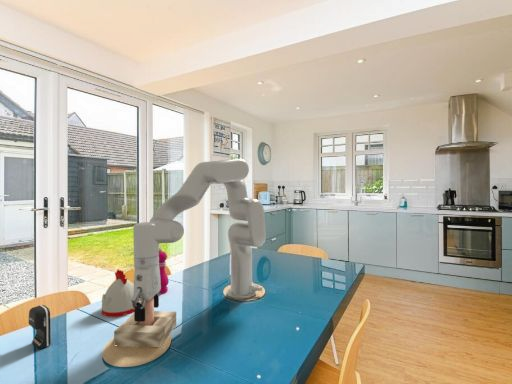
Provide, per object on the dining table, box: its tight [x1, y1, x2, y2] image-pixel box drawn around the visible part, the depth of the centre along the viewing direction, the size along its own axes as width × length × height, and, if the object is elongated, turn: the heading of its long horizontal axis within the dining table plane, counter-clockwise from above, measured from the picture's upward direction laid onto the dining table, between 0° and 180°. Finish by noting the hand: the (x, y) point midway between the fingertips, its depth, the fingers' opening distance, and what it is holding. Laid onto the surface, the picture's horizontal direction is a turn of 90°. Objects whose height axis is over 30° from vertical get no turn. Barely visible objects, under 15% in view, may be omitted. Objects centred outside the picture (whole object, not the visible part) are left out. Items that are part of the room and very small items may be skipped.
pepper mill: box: [159, 247, 169, 295], centre depth 128 cm, size 7×7×20 cm
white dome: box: [101, 269, 141, 318], centre depth 110 cm, size 14×14×15 cm
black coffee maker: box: [28, 304, 52, 349], centre depth 85 cm, size 7×4×11 cm, turn 54°
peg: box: [140, 297, 155, 326], centre depth 91 cm, size 4×4×12 cm
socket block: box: [113, 310, 177, 348], centre depth 91 cm, size 14×14×4 cm
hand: (147, 313), depth 91 cm, fingers open, 9 cm apart
